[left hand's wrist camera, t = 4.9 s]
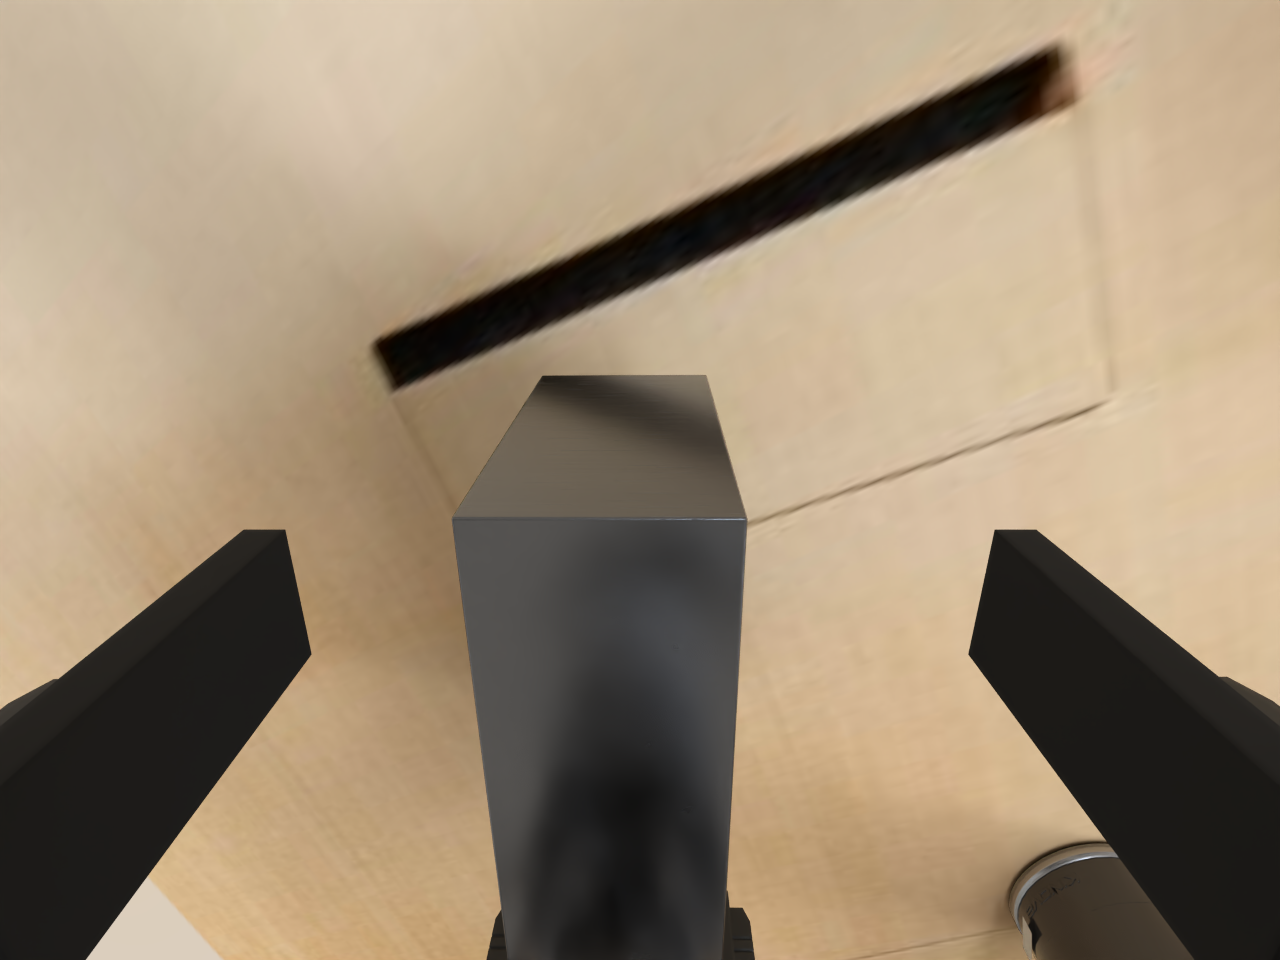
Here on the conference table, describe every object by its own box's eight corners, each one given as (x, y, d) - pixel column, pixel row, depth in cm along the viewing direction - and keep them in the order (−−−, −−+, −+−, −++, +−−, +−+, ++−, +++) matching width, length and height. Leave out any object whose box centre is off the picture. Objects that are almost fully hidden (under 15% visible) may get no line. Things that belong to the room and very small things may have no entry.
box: (541, 375, 25) (450, 517, 14) (706, 374, 25) (748, 518, 14) (569, 795, 33) (525, 1101, 22) (694, 797, 33) (714, 1105, 22)
